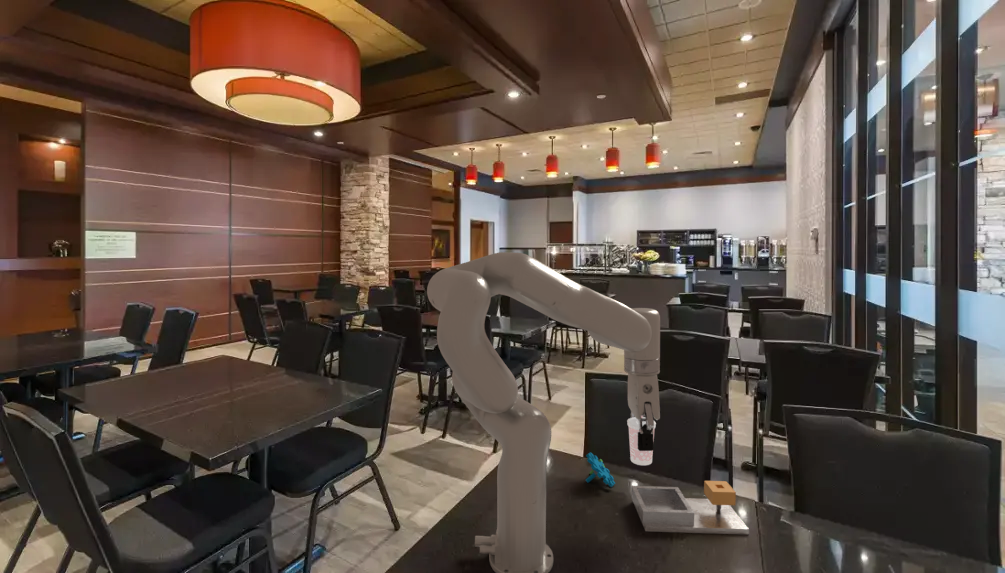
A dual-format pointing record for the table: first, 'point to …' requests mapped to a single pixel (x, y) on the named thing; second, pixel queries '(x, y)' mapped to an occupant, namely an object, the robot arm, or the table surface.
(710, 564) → the table surface
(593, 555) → the table surface
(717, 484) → the amber wooden brick
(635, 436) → the beverage cup
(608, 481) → the blue lobed piece
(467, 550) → the table surface
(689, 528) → the gray tray
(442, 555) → the table surface
